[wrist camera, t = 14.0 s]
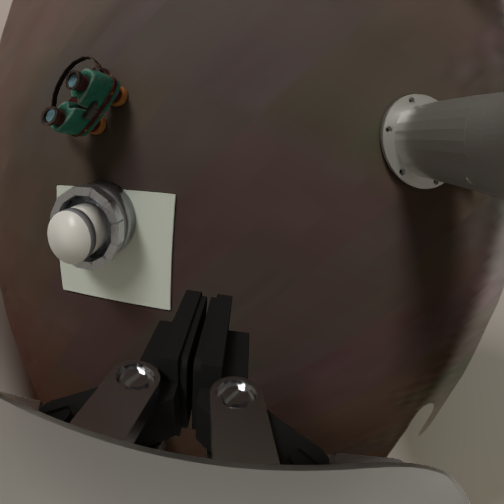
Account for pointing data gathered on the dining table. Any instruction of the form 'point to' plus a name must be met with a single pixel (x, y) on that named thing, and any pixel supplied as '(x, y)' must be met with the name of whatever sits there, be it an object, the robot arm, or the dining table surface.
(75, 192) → the grey ring
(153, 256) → the mat
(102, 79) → the binoculars
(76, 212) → the cap
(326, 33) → the dining table surface
